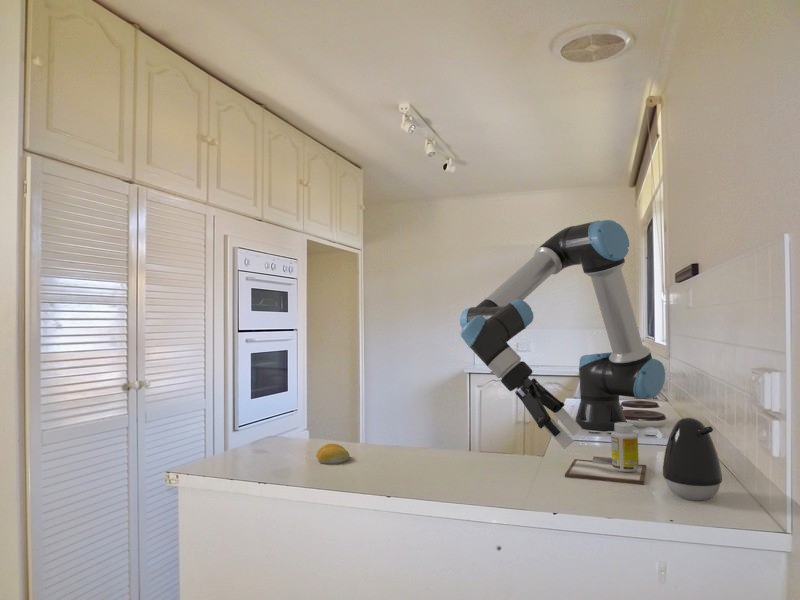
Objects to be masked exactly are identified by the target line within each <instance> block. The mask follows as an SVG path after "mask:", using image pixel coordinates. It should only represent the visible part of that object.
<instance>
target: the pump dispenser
mask: <svg viewBox="0 0 800 600" xmlns="http://www.w3.org/2000/svg"><path fill="white" fill-rule="evenodd" d="M713 431H714V428H713V427H712V426H710V425H709V426H705V425H704V423H702V422H701V421H700V420H698V419H696V418H692V417H684V418H681V419H680V420H678V421H677V422H676V423H675V425H674V426H673V428H672V430H671V432H670V435H669V436H668V439H667V442H666V443H667V444H666V447H665V451H664V457H663V462H662V463H663V464H662V465H663V466H662V476H663V478H664V480H665V483H666V485H667V487H668V489H669V490H670V491H671V492H672V494H674V495H675V496H677V497H679V498H682V499H684V500H688V501H695V502H696V501H697V502H699V501H701V502H703V501H707V500H710V499H711V498H713V497H714V496H716V494H717V493H718V491H719V489H720V486H721V484H722V482H723V474H722V467H721V463H720V459H719V455H718V453H717V450H716V447H715V444H714V441H713V438H712V437H711V433H712V432H713Z"/></svg>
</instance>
